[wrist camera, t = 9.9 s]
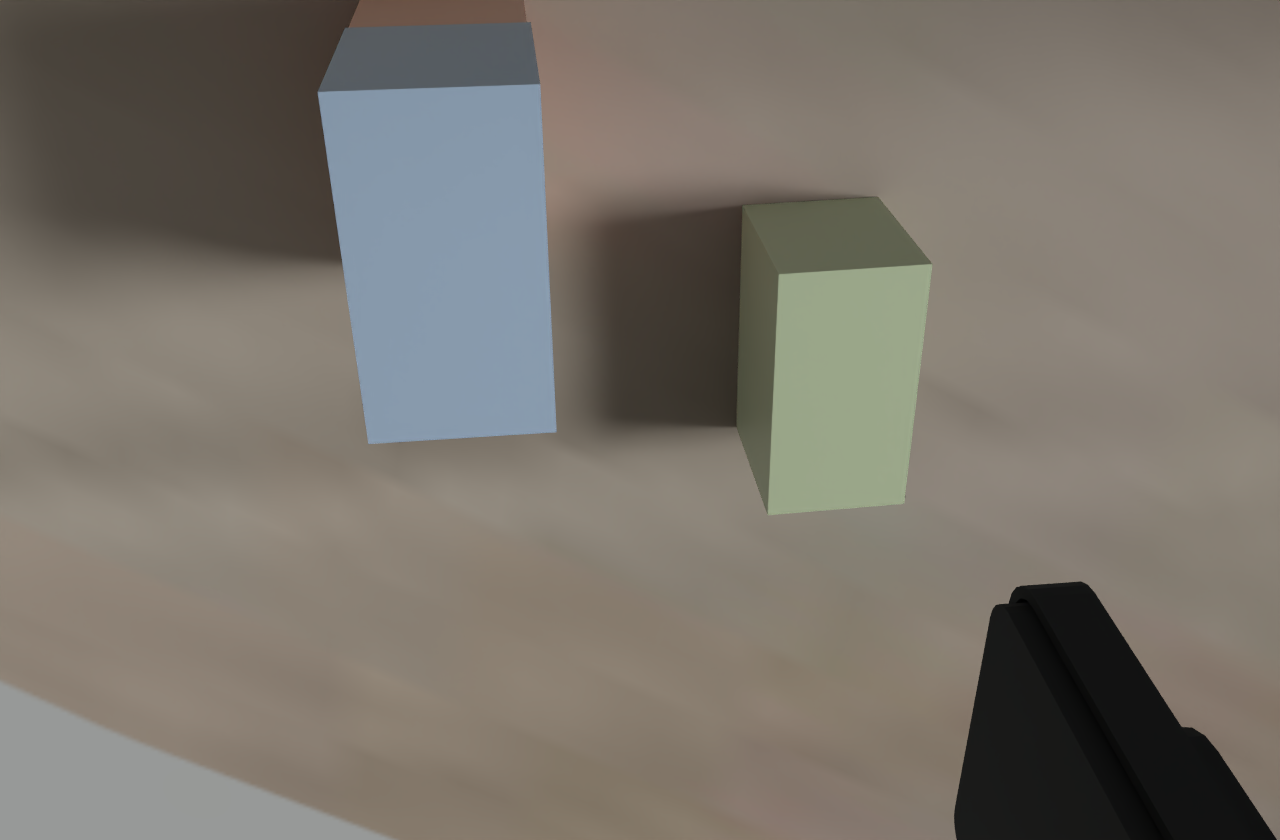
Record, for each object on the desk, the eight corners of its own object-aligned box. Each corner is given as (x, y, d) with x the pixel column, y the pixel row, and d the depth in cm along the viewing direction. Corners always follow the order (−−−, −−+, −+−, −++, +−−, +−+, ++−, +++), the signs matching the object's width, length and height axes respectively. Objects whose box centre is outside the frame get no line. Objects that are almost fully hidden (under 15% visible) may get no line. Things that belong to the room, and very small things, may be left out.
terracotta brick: (522, -12, 24) (528, 34, 21) (534, 259, 27) (542, 338, 24) (363, -9, 24) (343, 39, 20) (394, 265, 27) (381, 346, 24)
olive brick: (876, 195, 28) (932, 264, 24) (856, 415, 31) (903, 503, 27) (741, 203, 27) (778, 274, 24) (735, 424, 30) (767, 515, 27)
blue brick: (530, 22, 21) (540, 84, 17) (545, 328, 24) (556, 432, 20) (344, 27, 20) (317, 91, 17) (385, 337, 24) (368, 444, 20)
